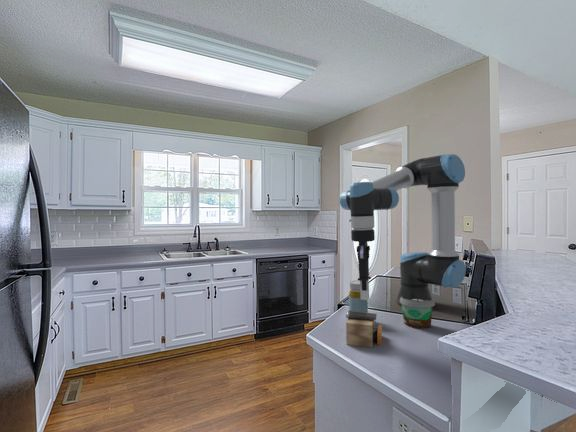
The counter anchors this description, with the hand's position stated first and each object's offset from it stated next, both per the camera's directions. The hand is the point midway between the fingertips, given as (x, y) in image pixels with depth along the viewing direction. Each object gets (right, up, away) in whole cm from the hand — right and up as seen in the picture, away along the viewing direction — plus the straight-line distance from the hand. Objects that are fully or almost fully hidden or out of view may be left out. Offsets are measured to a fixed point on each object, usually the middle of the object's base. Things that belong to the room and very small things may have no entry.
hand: (364, 299), depth 106 cm
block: (-1, -13, 0) cm, 13 cm away
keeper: (-1, -6, 0) cm, 6 cm away
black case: (-1, -13, 0) cm, 13 cm away
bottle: (+2, -13, +17) cm, 22 cm away
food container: (+22, -13, +10) cm, 27 cm away
